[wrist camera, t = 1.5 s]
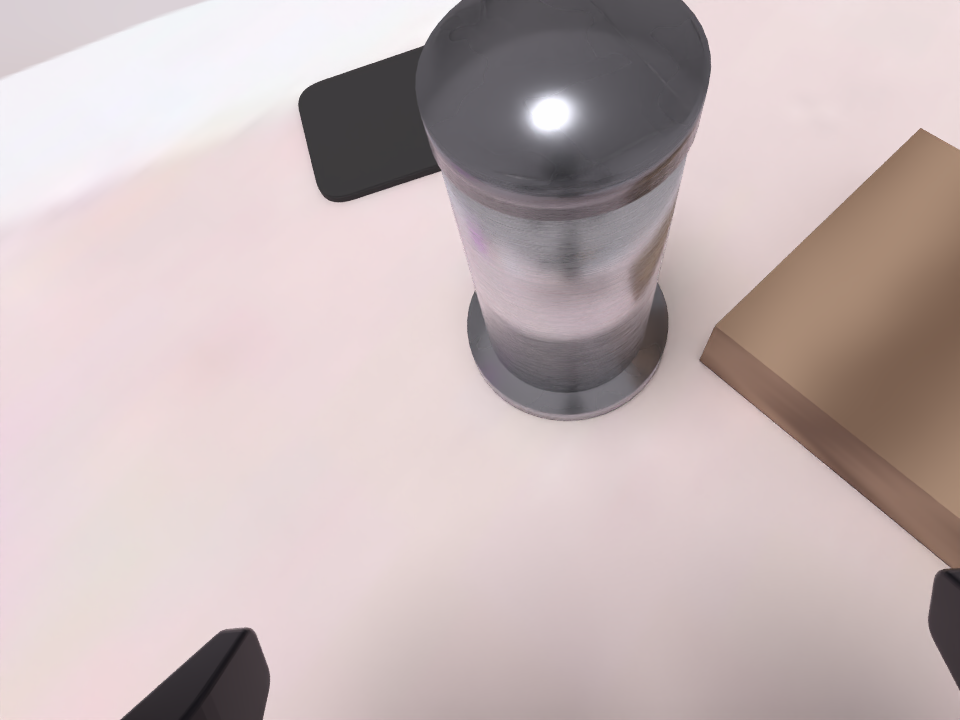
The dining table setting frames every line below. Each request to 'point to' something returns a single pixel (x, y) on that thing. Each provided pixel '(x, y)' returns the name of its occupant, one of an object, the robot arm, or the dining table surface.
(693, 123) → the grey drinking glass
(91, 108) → the dining table surface
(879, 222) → the stand
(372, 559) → the dining table surface
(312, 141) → the phone
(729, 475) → the dining table surface
